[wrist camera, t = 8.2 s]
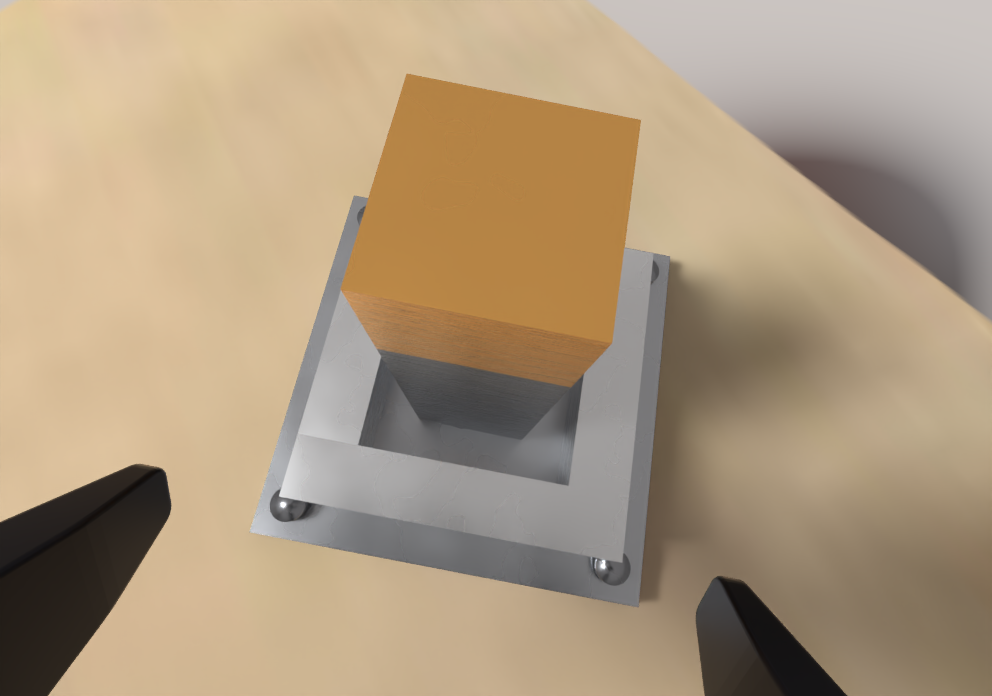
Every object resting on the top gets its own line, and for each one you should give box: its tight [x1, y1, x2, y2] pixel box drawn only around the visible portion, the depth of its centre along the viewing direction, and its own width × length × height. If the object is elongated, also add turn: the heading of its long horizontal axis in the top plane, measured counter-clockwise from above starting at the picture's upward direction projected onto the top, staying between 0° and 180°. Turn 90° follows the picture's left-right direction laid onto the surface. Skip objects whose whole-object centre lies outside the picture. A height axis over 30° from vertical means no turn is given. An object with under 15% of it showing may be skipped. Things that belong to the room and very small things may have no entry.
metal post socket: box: [250, 196, 670, 607], centre depth 19 cm, size 14×14×3 cm
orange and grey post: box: [341, 74, 641, 440], centre depth 14 cm, size 4×4×12 cm
